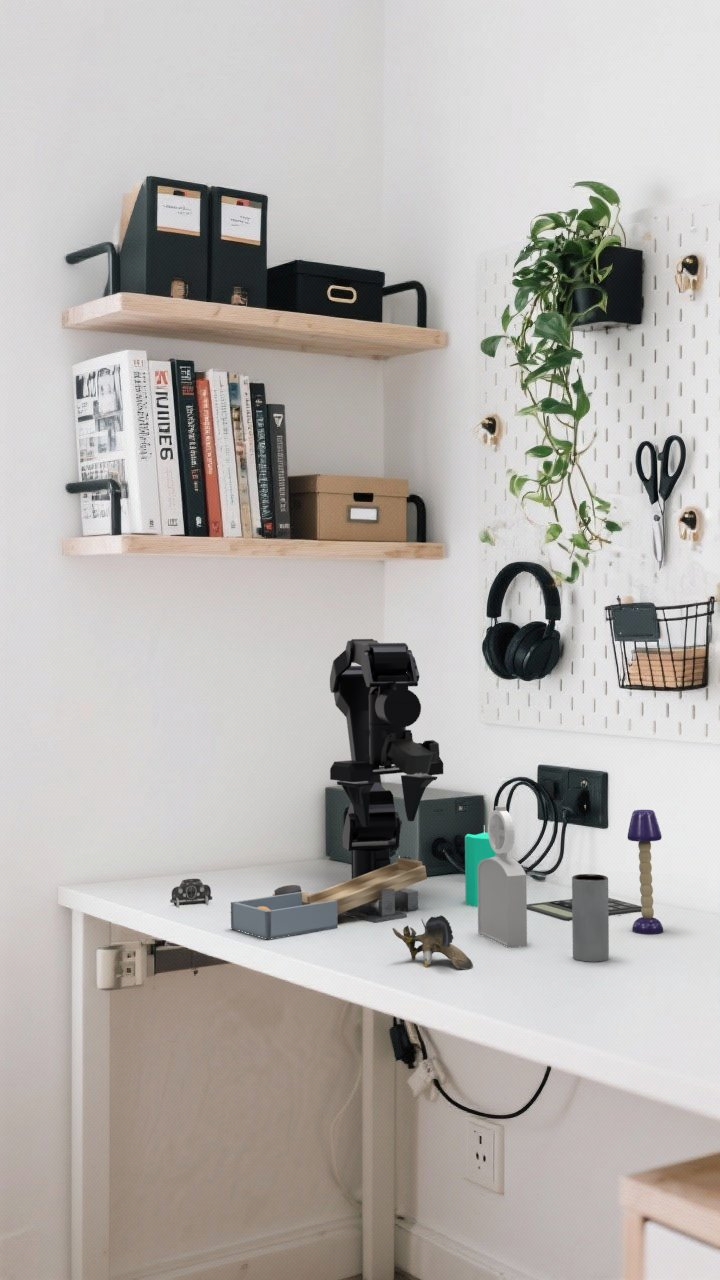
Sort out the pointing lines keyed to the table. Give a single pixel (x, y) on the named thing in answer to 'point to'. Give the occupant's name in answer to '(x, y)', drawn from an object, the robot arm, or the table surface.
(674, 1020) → the table surface
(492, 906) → the gravestone
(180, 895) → the car cutout
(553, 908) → the calculator
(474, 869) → the candle
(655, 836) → the toy lamp
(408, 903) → the stand
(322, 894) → the lever
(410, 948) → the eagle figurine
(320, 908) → the tray
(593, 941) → the planter
